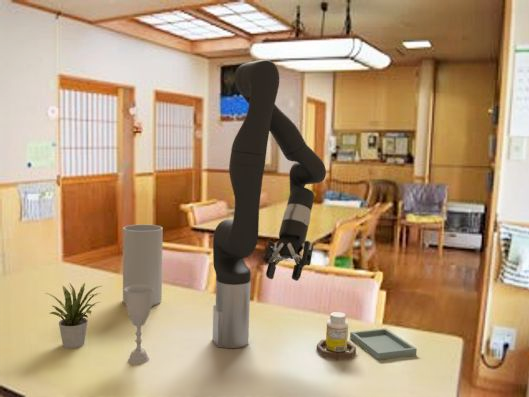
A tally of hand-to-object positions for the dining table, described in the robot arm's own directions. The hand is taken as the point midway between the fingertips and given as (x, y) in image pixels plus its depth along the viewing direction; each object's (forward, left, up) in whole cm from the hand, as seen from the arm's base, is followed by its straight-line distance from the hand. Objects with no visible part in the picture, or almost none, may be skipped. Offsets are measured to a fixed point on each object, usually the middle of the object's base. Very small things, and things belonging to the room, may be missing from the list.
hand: (281, 279), depth 132 cm
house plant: (-51, +13, -18) cm, 56 cm away
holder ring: (+13, -8, -18) cm, 24 cm away
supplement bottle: (+13, -8, -18) cm, 24 cm away
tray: (+27, -8, -18) cm, 34 cm away
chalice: (-37, 0, -18) cm, 41 cm away
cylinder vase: (-32, +44, -18) cm, 57 cm away
